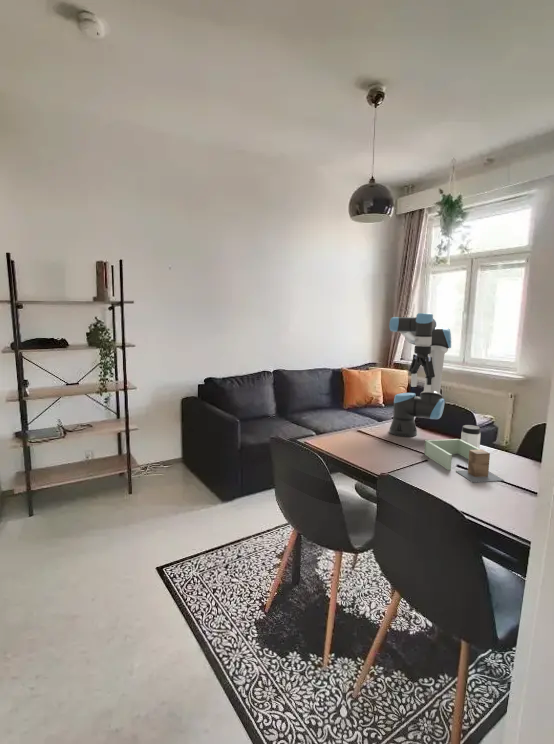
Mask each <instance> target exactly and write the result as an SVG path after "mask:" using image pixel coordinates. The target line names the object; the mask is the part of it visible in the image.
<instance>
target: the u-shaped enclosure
mask: <svg viewBox="0 0 554 744" xmlns="http://www.w3.org/2000/svg"><path fill="white" fill-rule="evenodd" d="M423 449H424V450H423V454H424V455H425V456H427V457H428V458H429V459H431V460H432V461H434V462H435V463H437V464H438V465H440V466H442V467H443V468H445V469H446V470H447V471H451V470H452V460H453V455H454V454H456V455H457V454H458V455H460V456H461V457H463V458H465V459H466V460H469V450H481V449H480V448H477V447H475V446H473V445H471V444H469V443H467V442H465V441H463V440H461V438H453V439H452V438H448V439H425V440H424V448H423Z"/></svg>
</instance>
